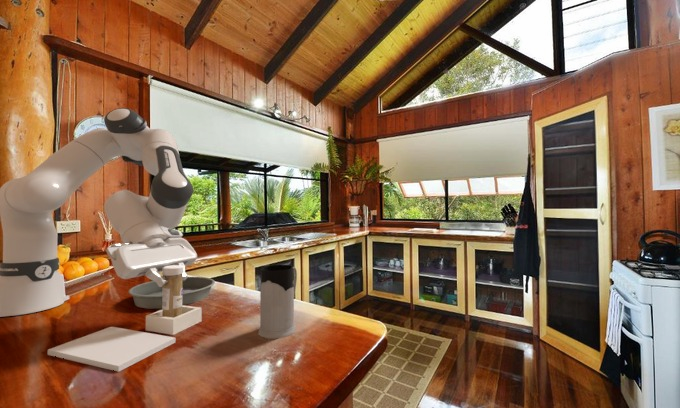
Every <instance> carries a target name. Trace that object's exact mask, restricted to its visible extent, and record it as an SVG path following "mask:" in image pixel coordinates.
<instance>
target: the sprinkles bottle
mask: <svg viewBox="0 0 680 408" xmlns="http://www.w3.org/2000/svg"><path fill="white" fill-rule="evenodd" d="M183 270H184V267H183V266H182V265H170V266H165V267H163V270H162V272H161V273H162V274H161V276H166V278H167V279H168V283H167V284H166V285H165V286H163V291H162V308H161V310H162V309H163V313H162V316H165V317H172V318H174V317H177V316H179V315H181V314H182V291H183V290H184V289H183V288H182V275H183ZM182 289H183V290H182Z"/></svg>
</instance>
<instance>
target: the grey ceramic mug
mask: <svg viewBox="0 0 680 408" xmlns="http://www.w3.org/2000/svg"><path fill="white" fill-rule="evenodd" d="M260 271H261V272H260V273H261V274H260V276H261V277H260V278H261V279H260V282H261V283H260V286H259V287H260V290H259V291H260V299H259V300H260V305H259V306H260V308H259V309H260V311H259V312H260V313H259V314H260V315H259V317H260V324H259V325H260V326H259V329H258V335H259V336H260V337H261V338H264V339H271V340H273V339H274V340H275V339H282V338H286V337H289V336H291V335H293V334H294V333H295V332H296V330H297V329H296V326H295V320H294V319H295V316H294V315H295V314H294V313H295V312H294V311H295V308H294V307H295V304H294V303H295V302H294V301H295V299H294V298H295V294H296V293H295V292H296V288H297V280H298V272H297V268H296V267H295V266H293V265H288V264H271V265H266V266H263V267H261V268H260Z"/></svg>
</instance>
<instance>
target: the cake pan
mask: <svg viewBox="0 0 680 408" xmlns="http://www.w3.org/2000/svg"><path fill="white" fill-rule="evenodd" d="M215 282H216V281H215V280H214V279H213V278H209V277H206V276H188V277H187V279H186V280H184V281H182V288H183V289H182V305H184V306H188V305H190V304H194V303H197V302H200V301H202V300H204V299H206V298H208V297H209V296H208V295H210V293H211V289H212V286H214V285H215V284H216V283H215ZM184 290H189V291H184ZM162 291H163V286H161V287H159V286H158V285H157V283H156V282H154V281H152V280H151V281H147V282H143V283H139V284H137V285H135V286H133V287H131V288H130V289H129V290H128V294H129V295H130V296H132V298H133V301H134V305H135V306H136V307H138V308H140V309H141V308H143V309H152V310H153V309H154V310H155V309H162Z"/></svg>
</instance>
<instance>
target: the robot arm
mask: <svg viewBox="0 0 680 408" xmlns="http://www.w3.org/2000/svg"><path fill="white" fill-rule="evenodd" d="M103 120H104V121H103V122H104V125H105V127H106V128H103V127H98V128H95V129H91V130H89V131H87V132H85V133H83V134H81V135H80V136H78V137H75V138H74V139H73V140H71V141H70V142H68V143H66V145H64V146H62V147H61V148H60V149H58V150H56V151H55V152H53V153H52V154H51V155H49V156H48V157H47V158H46V159H45V160H44V161H43V162H41V163H40V164H39V165H38V166H36V168H34V169H32V171H31V172H29V173H28V174H26V175H24V176H22V177H19V178H14V179H10V180H8V181H6V182H5V183H4V184H2V186H1V187H0V223H1V228H2V238H3V239H2V262H1V263H0V318H2V317H4V318H5V317H10V316H12V317H13V316H22V315H27V314H33V313H36V312H37V313H38V312H41V311H45V310H49V309H50V310H51V309H53V308H57V307H59V306H61V305H63V304H64V303H65V302H66V301H68V300H70V295H68V294H67V295H66V288H65V278H64V274H62V273H60V272H59V269H60V257H58V230H57V229H56V226H55V221H54V218H53V217H54V216H53V213H52V212H54V211H56V210H58V209H59V208H61V207H62V206H64V204H66V202H67V201H68V199H70V197H72V195H73V194H75V192H76V191H77V190H78V189H79V188H80V186H82V185H83V184H84V182H85V181H87V180H88V179H90V177H92V176H94V174H96V172H98V171H99V170H101V168H103V167H104V166H105V165H107V164H108V163H109V162H110V161H111V160H113V159H114V158H116V157H121V159H122V160H123V162H125V163H131V164H133V165H136V166H141V167H143V168H144V170H145V171H146V172H147V173H149V174H150V175H152V176H154V177H153V179H152V182H151V185H150V191H149V192H150V193H149V196H146V195H145V196H144V195H140V194H137V193H135V192H133V191H131V190H129V189H121V190H118V191H116V192H114V193H112V194H111V195H109V197H108V198H107V199H106V201H105V202H104V206H103V208H104V213H105V215H106V218H107V219H108V221H109V223H110V225H111V226H112V228H113V230H114V231H115V232H117V233H118V234H119V236H120V240H121V242H120V243H116V242H115V243H112V244H110V245H109V246H107V247H106V249H105V252H106V254H107V256H108V257H109V258H110V260H111V264H112V266H113V267H112V268H114V269H113V270H114V271H115V273H116V276H117V277H118V278H120V279H122V280H128V279H129V280H130V279H133V278H138V277H142V276H145V277H146V278H147V279H149V280H151V281H154V282H156V283H157V285H158V286H159V287H161V286H165V285H166V284H167V283H168V279H167V278H166V276H163V275H162V274H159V273H162V270H163V267H165V266H170V265H182V266H183V267H184V270H183V275H182V281H184V280H186V279H187V277H189V276H188V274H187V272H186V267H190V266H192V265H193V264H194V263H195V262H196V260H197V259H198V254H197V252H196V250H195V248H194V247H193V246H192V244H190V242H189V241H188V240H187V239H186V238H183V236H184V234H183V233H182V231H180V230H178V229H175V228H177V227H178V226H179V225H180V224H181V222H182V219H183V217H184V214H185V211H186V209H187V207H188V204H189V201H191V198H192V196H193V194H194V186H193V184H192V182H191V180H189V178H188V176H187V175H186V174H185V172H184V169H183V165H182V160H181V158H180V153H179V147H178V144H177V141H176V139H175V137H174V136H173V135H172V133H171V132H169V131H167V130H165V129H161V128H155V129H154V128H153V129H152V128H150V127H149V126H148V125H147V124H148V123H147V120H146V119H145V118H143V117H142V116H140V114H138V113H137V112H136V111H135V110H133V109H131V108H127V107H118V108H115V109H112V110H110V111H109V112H108V113H107V114H106V115H104V118H103Z"/></svg>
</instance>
